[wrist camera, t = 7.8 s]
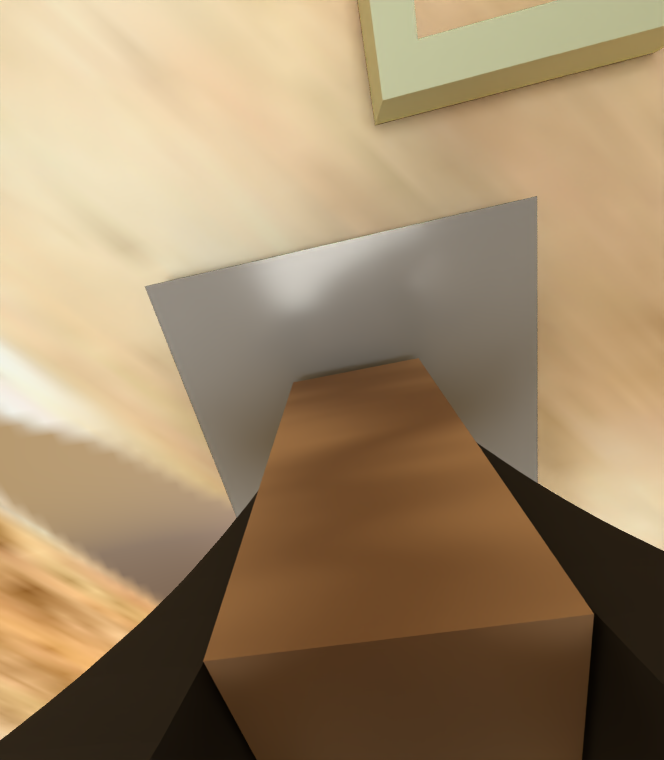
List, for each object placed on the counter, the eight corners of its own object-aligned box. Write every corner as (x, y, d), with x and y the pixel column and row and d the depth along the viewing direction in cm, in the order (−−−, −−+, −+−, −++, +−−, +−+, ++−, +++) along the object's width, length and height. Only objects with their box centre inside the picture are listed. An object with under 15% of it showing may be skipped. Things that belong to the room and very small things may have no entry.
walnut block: (418, 357, 11) (594, 614, 3) (432, 464, 12) (577, 810, 5) (293, 382, 11) (203, 662, 4) (320, 483, 13) (295, 830, 5)
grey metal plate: (512, 201, 11) (537, 196, 10) (519, 495, 16) (537, 520, 14) (166, 281, 12) (144, 286, 11) (261, 535, 17) (254, 562, 15)
